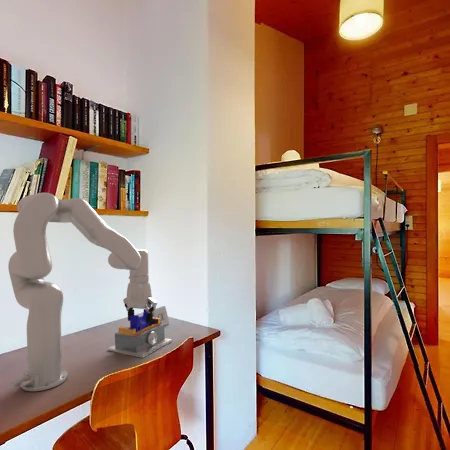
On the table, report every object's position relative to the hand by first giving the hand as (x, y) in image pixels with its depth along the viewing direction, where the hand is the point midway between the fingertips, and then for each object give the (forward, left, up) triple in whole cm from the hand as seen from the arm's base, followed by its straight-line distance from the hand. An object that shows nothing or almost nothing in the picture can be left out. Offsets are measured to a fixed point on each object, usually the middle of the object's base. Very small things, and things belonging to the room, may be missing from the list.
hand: (140, 321), depth 128 cm
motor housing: (0, 0, -10) cm, 10 cm away
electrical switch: (+24, +10, -10) cm, 28 cm away
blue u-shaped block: (0, 0, -3) cm, 3 cm away
